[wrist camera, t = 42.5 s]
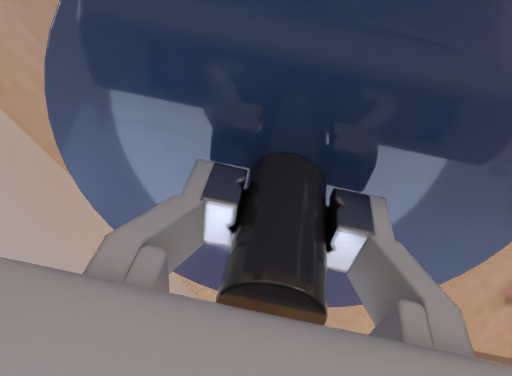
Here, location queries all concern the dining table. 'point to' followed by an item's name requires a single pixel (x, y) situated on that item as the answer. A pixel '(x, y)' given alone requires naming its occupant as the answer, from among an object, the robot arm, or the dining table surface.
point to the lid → (293, 127)
